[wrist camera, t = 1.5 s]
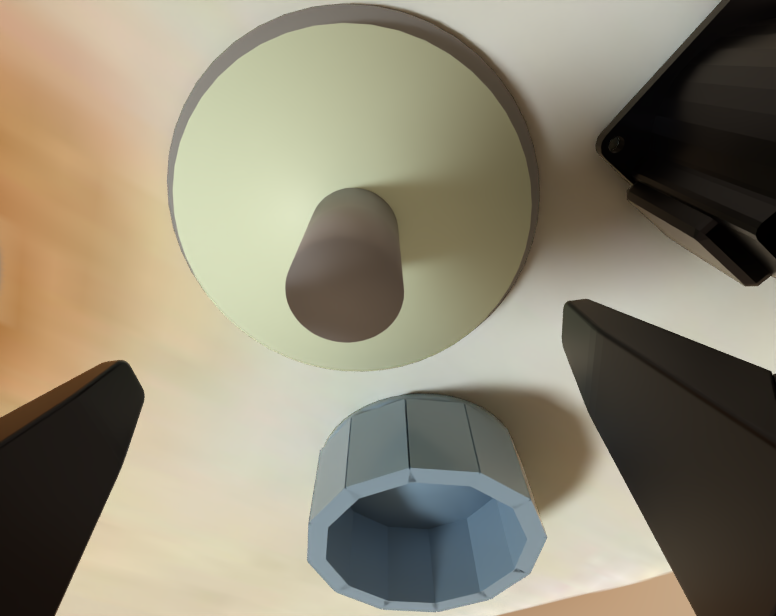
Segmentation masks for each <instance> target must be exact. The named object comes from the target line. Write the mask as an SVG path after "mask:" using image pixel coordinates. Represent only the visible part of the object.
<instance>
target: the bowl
mask: <svg viewBox="0 0 776 616" xmlns="http://www.w3.org/2000/svg"><path fill="white" fill-rule="evenodd" d="M546 539H547V535H546V532H545V529H544V526H543V523H542V520H541V518H540V515H539V512H538V509H537V506H536V503H535V500H534V497H533V494H532V491H531V488H530V485H529V482H528V479H527V476H526V473H525V470H524V467H523V465H522V462H521V460H520V457H519V455H518V453H517V450H516V448H515V445H514V442H513V439H512V437H511V435H510V433H509V431H508V429H507V428H505V426H504V425H503V424H502V423H501V422H500V421H499V420H498V419H497V418H496V417H495V416H494V415H493V414H491V413H490V412H488V411H487V410H485V409H484V408H482V407H480V406H478V405H476V404H474V403H471V402H468V401H466V400H463V399H460V398H456V397H451V396H447V395H439V394H421V393H419V394H406V395H400V396H394V397H390V398H386V399H383V400H379V401H376V402H374V403H372V404H369V405H367V406H365V407H363V408H361V409H359V410H357V411H355V412H354V413H352V414H351V415H350V416H348V417H347V418H345V419H344V420H343V421H342V422H341V423H340V424H339V425H338V426H337V427H336V428H335V429H334V430H333V432H332V433H331V434H330V436H329V437H328V439H327V441H326V443H325V445H324V447H323V448H322V449H321V450H320V455H319V461H318V467H317V474H316V480H315V486H314V492H313V499H312V505H311V511H310V517H309V524H308V554H307V561H308V563H309V564H310V565H311V566H312V567H313V568H314V569H315V570H316V572H317V573H318V574H319V575H320V576H321V577H322V578H323V579H324V580H325V581H326V582H327V584H328V585H329V586H330V587H331V588H332V589H333V590H334V591H336V592H337V593H339V594H342V595H345V596H347V597H350V598H352V599H355V600H358V601H360V602H363V603H366V604H368V605H371V606H374V607H376V608H379V609H383V610H400V611H421V612H436V611H437V612H440V611H444V610H449V609H453V608H457V607H461V606H465V605H470V604H474V603H478V602H482V601H487V600H489V599H492V598H493V597H495V596H496V595H498V594H499V593H501V592H503V591H504V590H506V589H507V588H509V587H510V586H512V585H513V584H515V583H516V582H518V581H520V580H521V579H523V578H524V577H526V576H527V575H529V574H530V573H531V571H532V569H533V567H534V565H535V562H536V560H537V558H538V556H539V554H540V552H541V550H542V548H543V546H544V543H545V541H546Z"/></svg>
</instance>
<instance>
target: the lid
mask: <svg viewBox="0 0 776 616" xmlns="http://www.w3.org/2000/svg"><path fill="white" fill-rule="evenodd" d="M173 204H174V215H175V220H176V225H177V230H178V235H179V238H180V241H181V244H182V247H183V250H184V253H185V256H186V258H187V261H188V263H189V265H190V267H191V269H192V271H193V273H194V275H195V277H196V278H197V280H198V282H199V283H200V285H201V286H202V288H203V289H204V291H205V292H206V294H207V295H208V297H209V298H210V299H211V300H212V301H213V303H214V304H215V305H216V306H217V308H218V309H219V310H220V311H221V312H222V313H223V314H224V315H225V316H226V317H227V318H228V319H229V320H230V321H231V322H232V323H233V324H234V325H235V326H237V327H238V328H239V329H240V330H242V331H243V332H244V333H246V334H247V335H248V336H249V337H251V338H252V339H254V340H255V341H257V342H259V343H260V344H262V345H264V346H265V347H267V348H268V349H270V350H273V351H275V352H277V353H279V354H281V355H283V356H285V357H287V358H290V359H293V360H296V361H299V362H302V363H304V364H308V365H312V366H316V367H320V368H325V369H332V370H340V371H361V372H363V371H377V370H385V369H391V368H396V367H401V366H405V365H408V364H411V363H415V362H418V361H421V360H423V359H426V358H428V357H430V356H433V355H435V354H437V353H439V352H441V351H443V350H445V349H446V348H448V347H450V346H452V345H454V344H455V343H456V342H458V341H459V340H461V339H462V338H463V337H465V336H466V335H468V334H469V333H470V332H471V331H472V330H474V329H475V328H476V327H477V326H478V325H479V324H480V323H481V322H482V321H484V320H485V318H486V317H487V316H488V315H489V314H490V313H491V312H492V310H493V309H494V308H495V307H496V306H497V305H498V303H499V302H500V300H501V299H502V297H503V296H504V294H505V293H506V291H507V290H508V288H509V287H510V285H511V283H512V281H513V279H514V277H515V275H516V273H517V271H518V269H519V266H520V263H521V260H522V257H523V255H524V252H525V249H526V244H527V240H528V235H529V230H530V222H531V209H532V199H531V182H530V177H529V172H528V167H527V162H526V157H525V155H524V152H523V149H522V146H521V143H520V140H519V137H518V135H517V133H516V131H515V129H514V127H513V125H512V123H511V121H510V119H509V117H508V115H507V113H506V112H505V110H504V109H503V107H502V106H501V105H500V103H499V102H498V100H497V99H496V98H495V96H494V95H493V93H492V92H491V91H490V90H489V89H488V88H487V87H486V85H485V84H484V83H483V82H482V81H481V80H480V79H479V78H478V77H477V76H476V75H475V74H474V73H473V72H472V71H471V70H470V69H468V68H467V67H466V66H464V65H463V64H462V63H461V62H459V61H458V60H457V59H455V58H454V57H453V56H451V55H450V54H449V53H447V52H445V51H443V50H441V49H440V48H438V47H436V46H434V45H432V44H431V43H429V42H427V41H425V40H423V39H420V38H417V37H415V36H412V35H409V34H407V33H404V32H401V31H399V30H394V29H389V28H385V27H380V26H375V25H371V24H353V23H336V24H326V25H316V26H311V27H307V28H303V29H299V30H295V31H292V32H288V33H285V34H283V35H280V36H278V37H276V38H274V39H271V40H269V41H267V42H265V43H262V44H260V45H259V46H257V47H256V48H254V49H253V50H251V51H249V52H248V53H246V54H245V55H243V56H242V57H240V58H239V59H237V60H236V61H235V62H234V63H233V64H232V65H231V66H230V67H228V68H227V69H226V70H225V71H224V72H223V73H222V74H221V75H220V76H218V78H217V79H216V80H215V81H214V83H213V84H212V85H211V86H210V87H209V89H208V90H207V91H206V92H205V94H204V95H203V96H202V97H201V99H200V101H199V103H198V104H197V106H196V108H195V110H194V111H193V113H192V115H191V117H190V118H189V120H188V123H187V125H186V128H185V131H184V133H183V136H182V138H181V141H180V144H179V149H178V153H177V157H176V162H175V166H174V179H173Z"/></svg>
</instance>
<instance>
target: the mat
mask: <svg viewBox="0 0 776 616" xmlns="http://www.w3.org/2000/svg"><path fill="white" fill-rule="evenodd" d="M336 23H353V24H371V25H375V26H380V27H385V28H389V29H394V30H399V31H401V32H404V33H407V34H409V35H412V36H415V37H417V38H420V39H423V40H425V41H427V42H429V43H431V44H432V45H434V46H436V47H438V48H440V49H441V50H443V51H445V52H447V53H449V54H450V55H451V56H453V57H454V58H455V59H457V60H458V61H459V62H461V63H462V64H463V65H464V66H466V67H467V68H468V69H470V70H471V71H472V72H473V73H474V74H475V75H476V76H477V77H478V78H479V79H480V80H481V81H482V82H483V83H484V84H485V85H486V87H487V88H488V89H489V90H490V91H491V92H492V93H493V95H494V96H495V98H496V99H497V100H498V102H499V103H500V105H501V106H502V107H503V109H504V110H505V112H506V113H507V115H508V117H509V119H510V121H511V123H512V125H513V127H514V129H515V131H516V133H517V135H518V137H519V140H520V143H521V146H522V149H523V152H524V155H525V157H526V162H527V167H528V172H529V177H530V182H531V199H532V209H531V222H530V230H529V235H528V240H527V244H526V249H525V252H524V255H523V257H522V260H521V263H520V266H519V269H518V271H517V273H516V275H515V277H514V279H513V281H512V283H511V285H510V287H509V288H508V290H507V291H506V293H505V294H504V296H503V297H502V299H501V300H500V302H499V303H498V305H499V304H500V303H501V302H502V301H503V300H504V298H505V297H506V295H507V294H508V292H509V291H510V289H511V288H512V286H513V285H514V283H515V282H516V280H517V278H518V276H519V274H520V272H521V270H522V268H523V266H524V264H525V262H526V259H527V256H528V253H529V251H530V248H531V245H532V242H533V238H534V233H535V229H536V224H537V220H538V209H539V197H540V195H539V174H538V167H537V162H536V156H535V151H534V146H533V143H532V140H531V137H530V134H529V131H528V128H527V125H526V122H525V120H524V118H523V116H522V114H521V112H520V110H519V108H518V106H517V105H516V103H515V101H514V99H513V97H512V96H511V94H510V93H509V91H508V90H507V88H506V87H505V86H504V84H503V83H502V81H501V80H500V78H499V77H498V76H497V75H496V73H495V72H494V71H493V70H492V69H491V68H490V67H489V66H488V65H487V64H486V63H485V62H484V61H483V60H482V59H481V57H480V56H479V55H478V54H476V53H475V52H474V51H472V50H471V49H470V48H469V47H467V46H466V45H465V44H464V43H462V42H461V41H460V40H459V39H457V38H456V37H454V36H453V35H451V34H449V33H447V32H446V31H444V30H442V29H440V28H439V27H437V26H435V25H433V24H432V23H430V22H427V21H425V20H422V19H420V18H417V17H414V16H412V15H409V14H407V13H404V12H401V11H396V10H392V9H387V8H382V7H378V6H373V5H357V4H335V5H325V6H315V7H310V8H307V9H303V10H299V11H295V12H292V13H288V14H284V15H282V16H280V17H278V18H275V19H273V20H271V21H269V22H267V23H264V24H262V25H260V26H258V27H256V28H255V29H253V30H252V31H250V32H249V33H247V34H246V35H244V36H243V37H241V38H240V39H238V40H237V41H235V42H234V43H233V44H232V45H230V46H229V47H228V48H227V49H226V50H225V51H224V52H223V53H222V54H221V55H220V56H218V57H217V58H216V59H215V60H214V61H213V62H212V64H211V65H210V66H209V67H208V69H207V70H206V71H205V73H204V74H203V75H202V76H201V78H200V79H199V80H198V81H197V83H196V84H195V86H194V88H193V90H192V92H191V93H190V95H189V97H188V99H187V100H186V102H185V104H184V106H183V108H182V111H181V114H180V116H179V119H178V122H177V124H176V127H175V130H174V134H173V138H172V143H171V147H170V152H169V160H168V174H167V187H168V202H169V209H170V214H171V218H172V223H173V228H174V231H175V234H176V237H177V240H178V243H179V246H180V249H181V251H182V253H183V255H184V257H185V259H186V261H187V258H186V256H185V253H184V250H183V247H182V244H181V241H180V238H179V235H178V230H177V225H176V220H175V215H174V204H173V179H174V166H175V162H176V157H177V153H178V149H179V144H180V141H181V138H182V136H183V133H184V131H185V128H186V125H187V123H188V120H189V118H190V117H191V115H192V113H193V111H194V110H195V108H196V106H197V104H198V103H199V101H200V99H201V97H202V96H203V95H204V94H205V92H206V91H207V90H208V89H209V87H210V86H211V85H212V84H213V83H214V81H215V80H216V79H217V78H218V76H220V75H221V74H222V73H223V72H224V71H225V70H226V69H227V68H228V67H230V66H231V65H232V64H233V63H234V62H235V61H236V60H237V59H239V58H240V57H242V56H243V55H245V54H246V53H248V52H249V51H251V50H253V49H254V48H256V47H257V46H259V45H260V44H262V43H265V42H267V41H269V40H271V39H274V38H276V37H278V36H280V35H283V34H285V33H288V32H292V31H295V30H299V29H303V28H307V27H311V26H316V25H326V24H336ZM187 264H188V266H189V268H190V270H191V272H192V273H193V271H192V269H191V267H190V265H189V263H188V261H187ZM193 275H194V273H193ZM194 276H195V275H194ZM195 278H196V277H195ZM196 279H197V278H196ZM197 281H198V280H197ZM199 284H200V283H199ZM201 287H202V286H201ZM202 289H203V288H202ZM203 290H204V289H203ZM498 305H497V306H498ZM497 306H496V307H495V308H494V309H493V310H492V312H493V311H494V310H495V309H496V308H497ZM492 312H491V313H492ZM491 313H490V314H489V315H488V316H487V317H489V316H490V315H491ZM487 317H486V318H487ZM486 318H485V319H486ZM482 322H483V321H482ZM482 322H481V323H482ZM481 323H480V324H481ZM480 324H479V325H480ZM479 325H478V326H479ZM478 326H477V327H478ZM472 331H473V330H472Z"/></svg>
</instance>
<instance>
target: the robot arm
mask: <svg viewBox="0 0 776 616" xmlns="http://www.w3.org/2000/svg"><path fill="white" fill-rule="evenodd" d="M614 137H618V138H619V144H618V145H617V147H616V148H615V149H613V150H609V148H608V147H609V143H610V141H611V140H612V139H613V138H614ZM596 151H597V153H598V154H599V156H600V157H602V158H603V159H604V160H605V161H606V162H607V163H608V164H609V165H610V166H611V167H612V168H613V169H614V170H616V171H617V172H618V173H619V174H620V175H621V176H622V177H623V178H624V179H625V180H626V181H627V182H628V183H629V184H631V185H632V186H631V187H630V188H629V189H628V190H627V200H628V201H629V202H630V203H631V204H633V205H634V206H635V207H636V208H637V209H638V210H639V211H640V212H641V213H642V214H643V215H645V216H646V217H647V218H648V219H649V220H650V221H651V222H652V223H653V224H654V225H656V226H657V227H658V228H659V229H660V230H661V231H662V232H663V233H664V234H665V235H667V236H668V237H669V238H670V239H671V240H673V241H675V242H676V243H678V244H679V245H681V246H682V247H684V248H686V249H687V250H689V251H690V252H692V253H693V254H695V255H697V256H698V257H700V258H701V259H703V260H704V261H706V262H707V263H709V264H711V265H712V266H714V267H715V268H717V269H718V270H720V271H722V272H723V273H725V274H726V275H728V276H729V277H731V278H733V279H734V280H736V281H737V282H739V283H740V284H742V285H743V286H759V285H760V284H761V283H762V282H764V281H765V280H766V279H768V278H769V277H770V276H772V277H774V278H776V0H722V1H721V2H720V3H719V4H718V5H717V7H716V8H715V9H714V10H713V11H712V12H711V13H710V14H709V15H708V16H707V17H706V19H705V20H704V21H703V22H702V23H701V24H700V25H699V26H698V27H697V28H696V30H695V31H694V32H693V33H692V34H691V35H690V36H689V37H688V38H687V39H686V40H685V42H684V43H683V44H682V45H681V46H680V47H679V48H678V49H677V50H676V51H675V53H674V54H673V55H672V56H671V57H670V58H669V59H668V60H667V61H666V62H665V63H664V65H663V66H662V67H661V68H660V69H659V70H658V71H657V72H656V73H655V74H654V76H653V77H652V78H651V79H650V80H649V81H648V82H647V83H646V84H645V85H644V86H643V88H642V89H641V90H640V91H639V92H638V93H637V94H636V95H635V96H634V97H633V99H632V100H631V101H630V102H629V103H628V104H627V105H626V106H625V107H624V108H623V110H622V111H621V112H620V113H619V114H618V115H617V116H616V117H615V118H614V119H613V120H612V122H611V123H610V124H609V125H608V126H607V127H606V128H605V129H604V130H603V131H602V133H601V134H600V135H599V137H598V138H597V141H596ZM562 343H563V348H564V351H565V353H566V356H567V359H568V361H569V364H570V366H571V369H572V372H573V374H574V377H575V379H576V382H577V385H578V387H579V390H580V393H581V395H582V398H583V400H584V403H585V405H586V408H587V410H588V413H589V415H590V417H591V419H592V421H593V423H594V424H595V426H596V428H597V430H598V432H599V434H600V436H601V438H602V439H603V441H604V443H605V445H606V447H607V449H608V451H609V453H610V454H611V456H612V458H613V460H614V462H615V464H616V466H617V468H618V469H619V471H620V473H621V475H622V477H623V479H624V481H625V483H626V484H627V486H628V488H629V490H630V492H631V494H632V496H633V498H634V499H635V501H636V503H637V505H638V507H639V509H640V511H641V512H642V514H643V516H644V518H645V520H646V522H647V524H648V526H649V527H650V529H651V531H652V533H653V535H654V537H655V539H656V541H657V542H658V544H659V546H660V548H661V550H662V552H663V554H664V556H665V557H666V559H667V561H668V563H669V565H670V567H671V569H672V571H673V572H674V574H675V576H676V578H677V580H678V582H679V584H680V585H681V587H682V589H683V591H684V593H685V595H686V597H687V599H688V600H689V602H690V604H691V606H692V608H693V610H694V612H695V614H696V615H697V616H776V374H773V375H772V372H771V371H769V370H767V369H764V368H762V367H759V366H756V365H754V364H751V363H749V362H746V361H744V360H741V359H739V358H736V357H734V356H731V355H729V354H726V353H723V352H721V351H718V350H716V349H713V348H711V347H708V346H706V345H703V344H701V343H698V342H695V341H693V340H690V339H688V338H685V337H683V336H680V335H678V334H675V333H673V332H670V331H668V330H665V329H662V328H660V327H657V326H655V325H652V324H650V323H647V322H645V321H642V320H640V319H637V318H635V317H632V316H629V315H627V314H624V313H622V312H619V311H617V310H614V309H612V308H609V307H607V306H604V305H602V304H599V303H597V302H594V301H591V300H589V299H581V300H573V301H568V302H566V303H565V305H564V309H563V325H562ZM144 397H145V396H144V390H143V388H142V386H141V384H140V383H139V381H138V379H137V377H136V375H135V373H134V372H133V370H132V368H131V366H130V365H129V364H128V363H127V362H126V361H124V360H116V361H108V362H104V363H101V364H99V365H97V366H95V367H94V368H92V369H90V370H88V371H86V372H84V373H82V374H81V375H79V376H77V377H75V378H73V379H71V380H70V381H68V382H66V383H64V384H62V385H60V386H58V387H57V388H55V389H53V390H51V391H49V392H47V393H45V394H44V395H42V396H40V397H38V398H36V399H34V400H32V401H31V402H29V403H27V404H25V405H23V406H21V407H19V408H18V409H16V410H14V411H12V412H10V413H8V414H6V415H5V416H3V417H1V418H0V616H55V615H56V612H57V610H58V608H59V606H60V604H61V601H62V599H63V597H64V595H65V592H66V590H67V588H68V586H69V584H70V581H71V579H72V577H73V575H74V572H75V570H76V568H77V566H78V564H79V561H80V559H81V557H82V555H83V552H84V550H85V548H86V546H87V544H88V541H89V539H90V537H91V535H92V532H93V530H94V528H95V526H96V524H97V521H98V519H99V517H100V515H101V513H102V510H103V508H104V506H105V504H106V501H107V499H108V497H109V495H110V493H111V490H112V488H113V486H114V484H115V481H116V479H117V477H118V475H119V472H120V470H121V468H122V465H123V462H124V460H125V457H126V454H127V451H128V448H129V445H130V442H131V439H132V436H133V433H134V430H135V427H136V424H137V421H138V418H139V415H140V412H141V409H142V406H143V403H144Z"/></svg>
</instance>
